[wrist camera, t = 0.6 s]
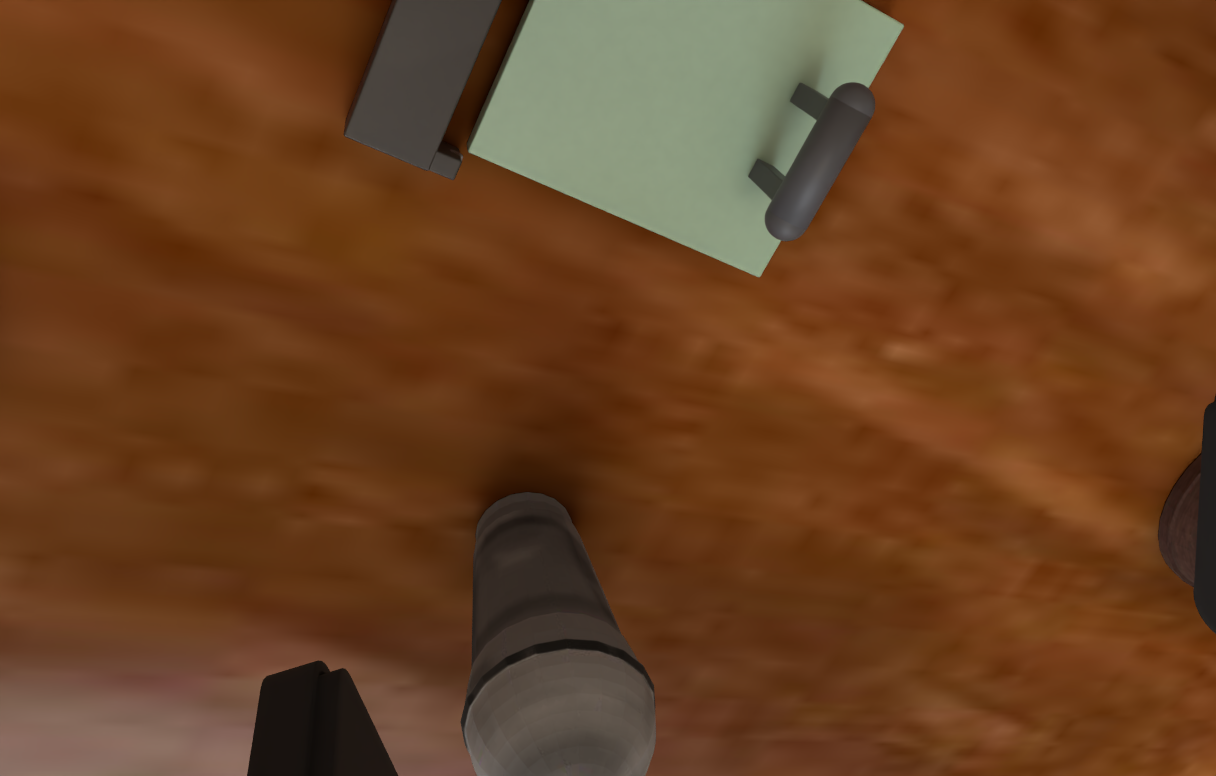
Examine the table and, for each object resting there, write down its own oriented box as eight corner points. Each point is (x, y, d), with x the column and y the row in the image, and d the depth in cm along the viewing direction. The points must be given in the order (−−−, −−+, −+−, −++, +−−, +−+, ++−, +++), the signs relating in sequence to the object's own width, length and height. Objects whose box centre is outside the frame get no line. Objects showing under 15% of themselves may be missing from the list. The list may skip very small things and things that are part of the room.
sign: (465, 144, 39) (477, 192, 34) (593, -150, 36) (628, -145, 30) (751, 268, 44) (799, 326, 39) (893, 20, 40) (966, 49, 35)
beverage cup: (476, 448, 46) (531, 827, 29) (625, 487, 49) (758, 857, 31) (423, 577, 49) (444, 992, 32) (567, 607, 51) (659, 1008, 34)
